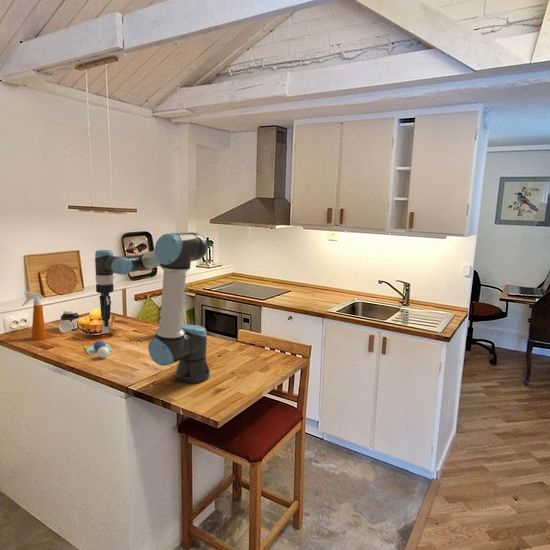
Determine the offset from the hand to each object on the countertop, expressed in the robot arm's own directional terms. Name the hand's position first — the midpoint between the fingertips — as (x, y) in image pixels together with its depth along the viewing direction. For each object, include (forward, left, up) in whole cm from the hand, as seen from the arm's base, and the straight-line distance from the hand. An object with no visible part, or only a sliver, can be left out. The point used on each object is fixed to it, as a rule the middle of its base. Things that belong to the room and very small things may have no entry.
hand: (105, 332), depth 193 cm
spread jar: (+59, +8, -15) cm, 61 cm away
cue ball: (+6, 0, -12) cm, 13 cm away
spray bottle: (+50, +26, -15) cm, 58 cm away
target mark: (+19, 0, -14) cm, 24 cm away
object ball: (+16, 0, -12) cm, 20 cm away
